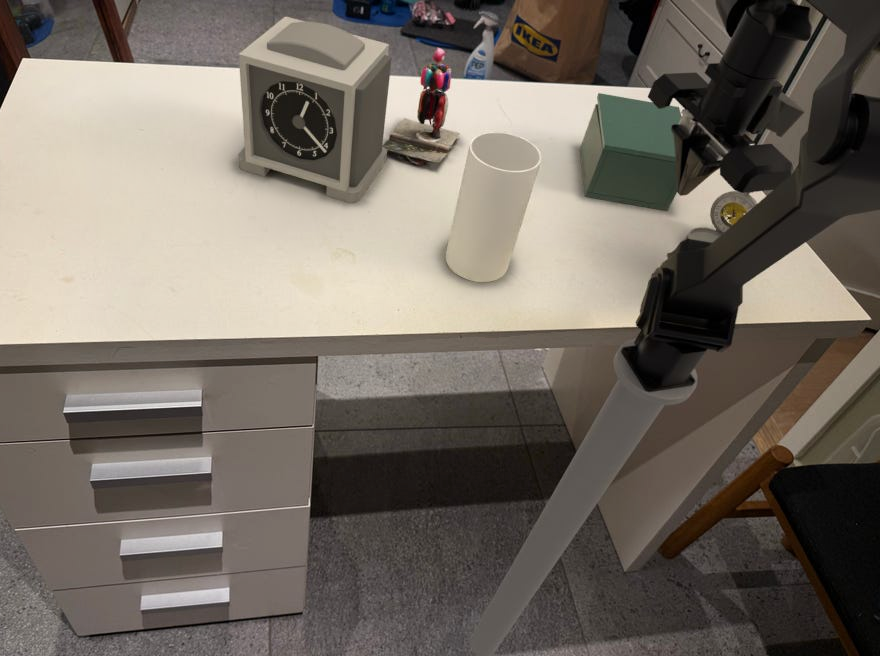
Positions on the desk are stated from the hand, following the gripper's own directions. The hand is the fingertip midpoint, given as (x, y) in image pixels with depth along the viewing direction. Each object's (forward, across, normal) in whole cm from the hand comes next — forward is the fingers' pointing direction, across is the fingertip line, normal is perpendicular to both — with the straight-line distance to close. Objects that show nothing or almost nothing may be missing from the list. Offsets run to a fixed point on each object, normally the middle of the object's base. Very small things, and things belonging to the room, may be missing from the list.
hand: (681, 193), depth 78 cm
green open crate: (+14, +21, -9) cm, 27 cm away
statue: (+14, +33, +20) cm, 41 cm away
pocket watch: (+14, +4, -15) cm, 21 cm away
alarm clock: (+14, +30, +37) cm, 50 cm away
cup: (+13, +6, +21) cm, 26 cm away
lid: (+6, +22, -10) cm, 25 cm away
